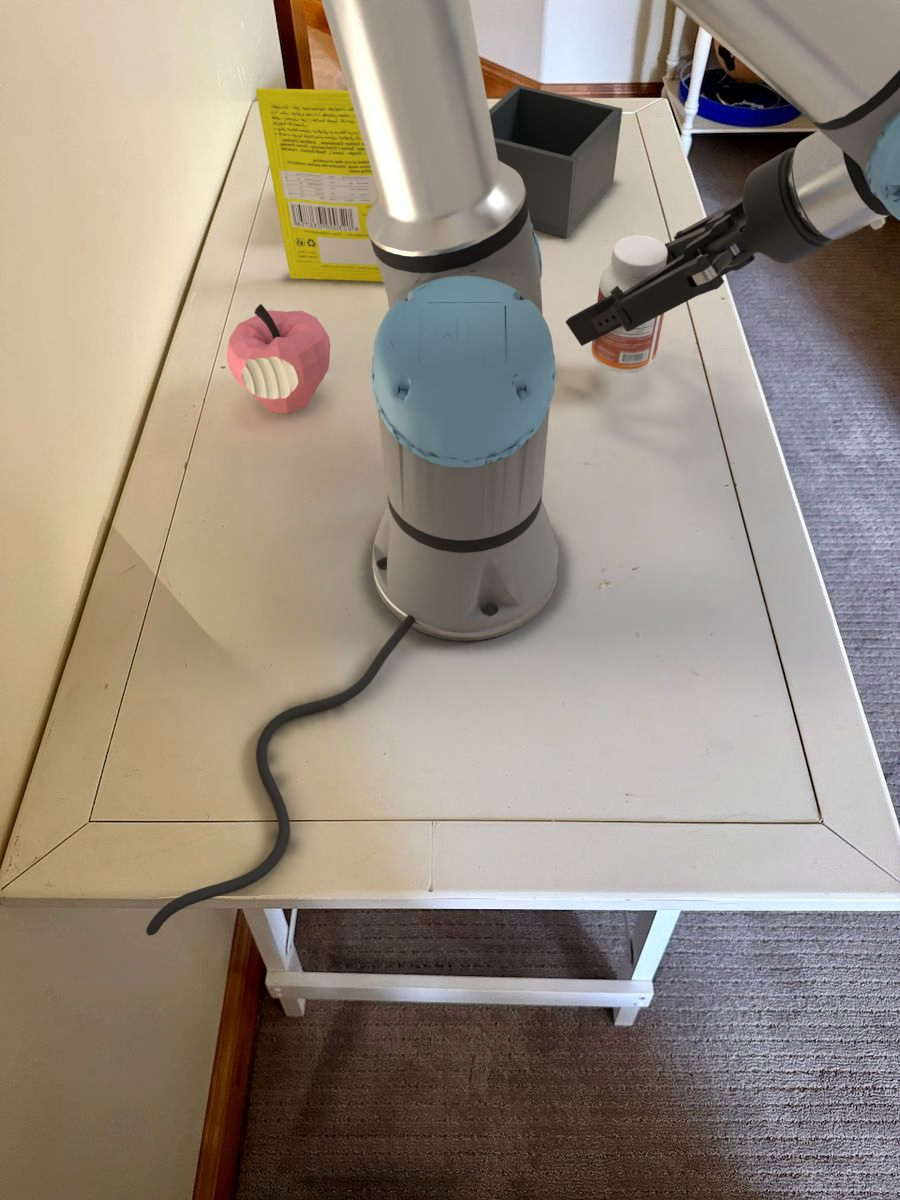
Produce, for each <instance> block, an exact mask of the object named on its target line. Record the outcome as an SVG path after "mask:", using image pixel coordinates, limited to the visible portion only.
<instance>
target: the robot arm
mask: <svg viewBox="0 0 900 1200" xmlns="http://www.w3.org/2000/svg"><path fill="white" fill-rule="evenodd" d="M320 1H321V3H322V7H323V10H324V14H325V17H326V22H327V24H328V27H329V31H330V34H331V38H332V41H333V45H334V48H335V51H336V54H337V58H338V62H339V64H340V68H341V72H342V75H343V79H344V82H345V85H346V88H347V90H348V92H349V95H350V99H351V102H352V106H353V109H354V112H355V116H356V119H357V123H358V126H359V129H360V133H361V136H362V139H363V143H364V146H365V150H366V153H367V156H368V160H369V163H370V166H371V170H372V173H373V177H374V180H375V183H376V187H377V190H378V196H377V198H376V199H375V201H374V203H373V204H372V206H371V208H370V210H369V212H368V215H367V219H366V227H367V231H368V234H369V238H370V241H371V244H372V247H373V250H374V254H375V257H376V260H377V263H378V266H379V270H380V273H381V276H382V279H383V282H382V283H383V286H384V289H385V293H386V297H387V303H388V310H387V312H386V314H385V315H384V316H383V319H382V320H381V322H380V323H379V326H378V328H377V330H376V334H375V339H374V343H373V350H372V351H373V353H372V360H371V370H370V371H371V372H370V378H371V388H372V393H373V397H374V399H375V405H376V409H377V415H378V423H379V432H380V440H381V441H380V442H381V443H380V444H381V450H382V459H383V460H382V461H383V470H384V480H385V486H386V487H385V488H386V496H387V503H386V505H385V508H384V511H383V513H382V516H381V519H380V522H379V524H378V528H377V531H376V533H375V536H374V540H373V544H372V545H373V546H372V554H371V555H372V556H371V564H372V573H373V579H374V583H375V587H376V590H377V593H378V595H379V597H380V599H381V600H382V602H383V604H384V605H385V606H386V608H387V609H388V610H389V611H390V612H391V613H392V614H393V616H395V617H396V618H397V619H399V620H400V622H401V623H400V624H399V626H398V627H397V628H396V630H395V631H394V632H393V634H392V635H391V636H390V637H389V638H388V640H387V641H386V642H385V644H384V645H383V646H382V648H381V649H379V652H378V653H377V654H376V656H375V658H374V659H373V661H372V662H371V664H370V665H369V667H368V668H367V670H366V671H365V672H364V674H363V675H362V676H361V677H360V678H359V679H358V680H357V682H355V683H354V684H353V685H352V686H350V687H348V688H347V689H346V690H344V691H341V692H340V693H337V694H335V695H333V696H329V697H326V698H322V699H318V700H315V701H310V702H305V703H302V704H299V705H297V706H293V707H290V708H288V709H286V710H284V711H282V712H280V713H279V714H277V715H276V716H274V717H273V718H272V719H271V720H270V721H269V722H268V723H267V725H266V726H265V727H264V728H263V730H262V732H261V733H260V735H259V738H258V740H257V745H256V749H255V756H256V765H257V769H258V773H259V777H260V778H261V780H262V784H263V785H264V788H265V790H266V792H267V794H268V797H269V799H270V801H271V803H272V806H273V808H274V811H275V814H276V818H277V821H278V833H277V834H278V835H277V840H276V842H275V843H274V847H273V849H272V851H271V852H270V853H269V855H268V856H267V858H266V859H265V860H264V861H263V862H262V863H260V864H259V865H258V866H256V867H255V868H254V869H251V870H250V871H248V872H246V873H244V874H242V875H239V876H237V877H235V878H232V879H228V880H225V881H222V882H219V883H215V884H212V885H208V886H205V887H202V888H199V889H196V890H193V891H190V892H188V893H185V894H182V895H180V896H178V897H176V898H174V899H173V900H171V901H170V902H168V903H167V904H166V905H164V906H163V907H162V908H161V909H160V910H159V911H157V913H156V914H155V915H154V916H153V917H152V919H151V920H150V921H149V923H148V925H147V927H146V929H145V933H146V934H147V935H148V936H154V935H156V934H157V933H158V932H159V931H160V929H161V928H162V926H163V925H164V923H166V921H167V920H168V919H169V918H171V916H173V915H175V914H176V913H177V912H179V911H180V910H183V909H185V908H188V907H189V906H192V905H195V904H198V903H200V902H204V901H206V900H211V899H213V898H217V897H220V896H223V895H227V894H230V893H234V892H237V891H239V890H242V889H244V888H246V887H248V886H251V885H253V884H254V883H256V882H258V881H260V880H261V879H262V878H264V877H266V876H267V875H268V874H269V873H270V872H271V871H272V870H273V869H275V868H276V866H277V865H278V864H279V862H280V860H281V859H282V858H283V856H284V854H285V851H286V849H287V847H288V845H289V840H290V834H291V833H290V832H291V828H290V827H291V826H290V817H289V813H288V809H287V806H286V804H285V801H284V799H283V798H284V797H283V796H282V794H281V792H280V790H279V788H278V786H277V785H278V784H277V783H276V781H275V779H274V776H273V775H272V772H271V770H270V767H269V763H268V757H267V756H268V755H267V752H268V746H269V743H270V741H271V739H272V737H273V735H274V734H275V732H276V731H277V730H278V729H279V728H280V727H281V726H282V725H284V724H285V723H287V722H289V721H290V720H292V719H294V718H298V717H302V716H304V715H308V714H311V713H316V712H320V711H323V710H327V709H330V708H334V707H337V706H339V705H342V704H344V703H346V702H348V701H350V700H352V699H353V698H355V697H356V696H358V695H359V694H361V693H362V692H363V691H364V690H365V689H366V688H367V687H368V686H369V685H370V684H371V683H372V681H374V678H375V677H376V676H377V675H378V673H379V671H380V670H381V668H382V667H383V665H384V663H385V662H386V660H387V659H388V657H390V655H391V654H392V652H393V651H394V650H395V648H396V647H397V646H398V645H399V644H400V642H401V640H402V639H403V638H404V637H405V635H407V633H408V631H409V630H410V629H411V628H412V629H413V630H416V631H418V632H420V633H422V634H425V635H428V636H431V637H434V638H438V639H441V640H442V639H443V640H449V641H460V642H468V641H470V642H471V641H472V642H473V641H481V640H487V639H492V638H496V637H499V636H503V635H506V634H508V633H510V632H513V631H515V630H517V629H518V628H520V627H522V626H523V625H525V624H527V623H528V622H529V621H531V620H532V619H533V618H535V617H536V616H537V615H538V614H539V613H541V611H542V610H543V608H544V607H545V606H546V604H547V603H548V602H549V600H550V599H551V596H552V595H553V593H554V590H555V588H556V584H557V580H558V575H559V574H558V573H559V565H560V553H559V545H558V539H557V536H556V533H555V530H554V528H553V526H552V524H551V521H550V518H549V515H548V512H547V509H546V507H545V504H544V502H543V491H544V490H543V489H544V479H545V465H546V454H547V443H548V430H549V421H550V420H549V419H550V409H551V404H552V400H553V396H554V393H555V386H556V377H557V376H556V375H557V372H556V371H557V369H556V358H555V352H554V345H553V344H554V343H553V338H552V334H551V331H550V330H551V329H550V328H549V324H548V323H547V321H546V319H545V317H544V315H543V299H542V298H543V297H542V282H541V281H542V275H543V261H542V259H543V258H542V251H541V247H540V246H541V245H540V241H539V238H538V236H537V234H536V233H535V230H534V229H533V225H532V224H531V221H530V215H529V209H528V203H527V197H526V191H525V186H524V183H523V180H522V178H521V176H520V175H519V174H518V173H517V172H516V171H515V170H514V169H513V168H511V167H510V166H508V165H506V164H504V163H503V162H501V161H499V160H498V158H497V152H496V147H495V141H494V135H493V130H492V124H491V119H490V113H489V110H490V108H489V102H488V97H487V91H486V86H485V81H484V75H483V70H482V63H481V59H480V53H479V47H478V41H477V36H476V31H475V26H474V20H473V15H472V9H471V8H472V7H471V3H470V0H320ZM669 2H671V3H672V4H673V5H675V7H677V8H678V9H679V10H680V11H681V12H683V13H684V14H685V15H686V16H688V17H689V18H690V19H691V20H692V21H693V22H694V23H696V25H698V26H699V27H700V28H701V29H703V30H704V31H705V32H706V33H707V34H708V35H710V36H711V37H712V38H713V39H714V40H715V41H717V42H718V43H719V44H720V45H721V46H723V48H725V49H726V50H727V51H729V53H731V54H732V55H733V56H734V57H735V58H737V59H738V60H739V61H740V62H741V63H743V64H744V65H745V66H746V67H747V68H748V69H749V70H751V71H752V72H753V73H754V74H755V75H756V76H758V77H759V78H760V79H762V81H763V82H764V83H766V84H767V85H768V86H769V87H771V88H772V89H773V90H774V91H775V92H776V93H777V94H779V96H781V97H782V98H783V99H785V101H787V102H788V103H789V104H790V105H792V106H793V107H794V108H795V109H796V110H797V111H798V112H800V113H801V114H802V115H803V116H805V117H806V119H807V120H809V121H810V122H811V123H812V124H813V125H814V126H815V127H816V128H817V129H818V130H817V131H816V132H815V131H814V133H812V134H810V135H809V136H807V137H805V138H803V139H802V140H801V141H799V143H798V144H797V145H796V147H790V148H788V149H786V150H785V151H783V152H781V153H780V154H778V155H777V156H775V157H773V158H771V159H770V160H768V161H766V162H764V163H763V164H761V165H760V166H758V167H756V168H755V169H753V170H752V171H751V172H750V173H749V175H748V176H747V178H746V179H745V180H746V181H745V183H744V185H743V189H742V197H741V198H738V199H737V200H735V201H733V202H731V203H729V204H727V205H726V206H724V207H722V208H720V209H718V210H717V211H715V212H713V213H711V214H710V215H707V216H706V217H704V218H702V219H700V220H699V221H697V222H695V223H693V224H691V225H689V226H688V227H686V228H684V229H682V230H679V231H677V232H675V233H676V234H675V235H674V236H673V239H674V240H672V241H669V242H666V243H663V244H664V245H665V246H666V248H667V251H668V254H667V260H666V266H664V267H663V268H661V269H660V270H658V271H656V272H655V273H653V274H652V275H650V276H649V277H647V278H645V279H644V280H642V281H641V282H639V283H638V284H636V285H634V286H633V287H631V288H630V289H628V290H626V291H625V292H622V290H620V289H619V287H618V286H616V287H615V288H614V289H613V290H611V292H610V293H611V295H610V296H608V297H606V298H605V299H603V300H601V301H599V302H597V301H596V302H595V303H594V304H591V305H590V306H588V307H586V308H584V309H582V310H581V311H579V312H577V313H576V314H573V315H572V316H570V317H568V318H567V320H565V324H566V325H567V327H568V328H569V330H570V331H571V333H572V334H573V336H574V337H575V338H576V340H577V342H578V343H579V345H580V346H581V347H584V346H585V345H587V344H589V343H592V341H593V340H595V339H597V338H599V337H601V336H603V335H605V334H607V333H609V332H611V331H613V330H615V329H617V328H619V327H621V326H623V327H624V329H625V330H626V332H629V331H630V330H631V331H632V330H634V329H635V328H636V327H638V326H640V325H642V324H644V323H646V322H648V321H650V320H652V319H654V318H656V317H657V316H659V315H661V314H663V313H664V314H665V313H667V312H669V311H672V310H673V309H675V308H677V307H679V306H681V305H682V304H684V303H686V302H688V301H690V300H692V299H694V298H696V297H698V296H701V295H703V294H706V293H709V292H712V291H715V290H718V289H719V288H721V286H722V285H724V283H725V280H724V279H723V277H724V276H725V275H726V274H728V273H730V272H731V271H739V270H741V269H743V268H744V267H746V266H748V265H749V264H751V263H752V262H753V261H754V260H755V259H756V256H755V254H756V253H758V254H762V255H764V256H766V257H768V258H770V259H771V260H772V261H774V262H776V263H779V264H783V265H784V264H786V265H787V264H792V263H794V262H797V261H799V260H801V259H803V258H806V257H807V256H809V255H811V254H814V253H815V252H818V251H820V250H822V249H824V248H826V247H828V246H829V245H831V243H833V241H834V240H835V241H836V240H837V241H838V240H841V239H844V238H845V237H847V236H849V235H852V234H854V233H856V232H858V231H860V230H861V229H863V228H865V227H867V226H870V227H871V228H872V230H878V229H881V228H882V227H883V226H884V225H885V224H886V218H888V217H889V216H893V217H894V218H896V219H897V220H898V221H900V0H669Z"/></svg>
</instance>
